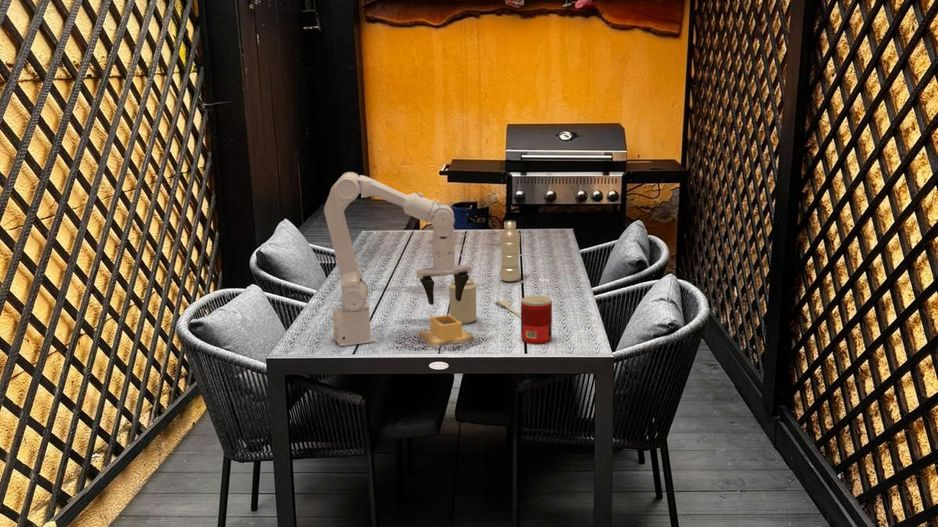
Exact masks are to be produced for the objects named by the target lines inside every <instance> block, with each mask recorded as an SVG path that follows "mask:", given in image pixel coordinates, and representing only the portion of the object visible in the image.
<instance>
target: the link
mask: <svg viewBox="0 0 938 527" xmlns="http://www.w3.org/2000/svg"><path fill="white" fill-rule="evenodd" d="M442 321H449V323H450V324H444V325H443V324H442ZM429 324H430V331H431V332H432V333H433V334H434V335H435V336H437V337H438V338H439V339H440V340H441V341H443V340H450V339H457V338H462V328H463V324H462V323H461V322H460V321H458V320H457V319H456V318H454V317H453V316H451V315H450V314H447V315H446V314H445V315H439V316H431V317H430V318H429Z"/></svg>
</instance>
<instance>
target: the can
mask: <svg viewBox="0 0 938 527" xmlns="http://www.w3.org/2000/svg"><path fill="white" fill-rule="evenodd" d="M448 290H449V292H448V293H449V294H448V295H449V297H448V298H449V315H451V316H453V317H454V318H456V319H457V320H458V321H460V322H461V323H462V325H468V324H471V323H473V322H474V321H475V320H476V319H477V285H476V283H475V282H474V279H472V278H469V279H468V281H467V283H466V285H465V287H464V290H463V293H462V297H461V301H457V300H456V298H455V280H454V278H453V279H452V280H451V283H450V284H449V287H448Z"/></svg>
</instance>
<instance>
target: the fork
mask: <svg viewBox="0 0 938 527" xmlns="http://www.w3.org/2000/svg"><path fill="white" fill-rule="evenodd" d="M498 303H499V304H500V305H502V306H504V307H505V308H506V309H507V310H509V311H510V312H512V313H514V314H515V315H516V316H517V317H519V319H521V312H518V311H516V310H514V309H513V308H511V307H510V303H511V302H509V301H508V300H504V299H503V300H499V301H495V302H493V304H498Z"/></svg>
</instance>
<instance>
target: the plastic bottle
mask: <svg viewBox="0 0 938 527" xmlns="http://www.w3.org/2000/svg"><path fill="white" fill-rule="evenodd" d="M516 223H517V222H516V220H505V221H504V223H503V224H504V225H503V228H504V230H503V231H502V232H501V234H500V236H499V240H500V246H501V264H500V265H501V266H500V271H499V275H500V276H499V277H500V279H501V281H503V282H510V283H511V282H516V281H519V279H520V278H521V270H520V267H519V266H520V264H519V263H520V262H519V252H520V250H519V249H520V244H521V243H520V242H521V236H520V233H519V232H518V231H517V229H516V228H517V224H516Z"/></svg>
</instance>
